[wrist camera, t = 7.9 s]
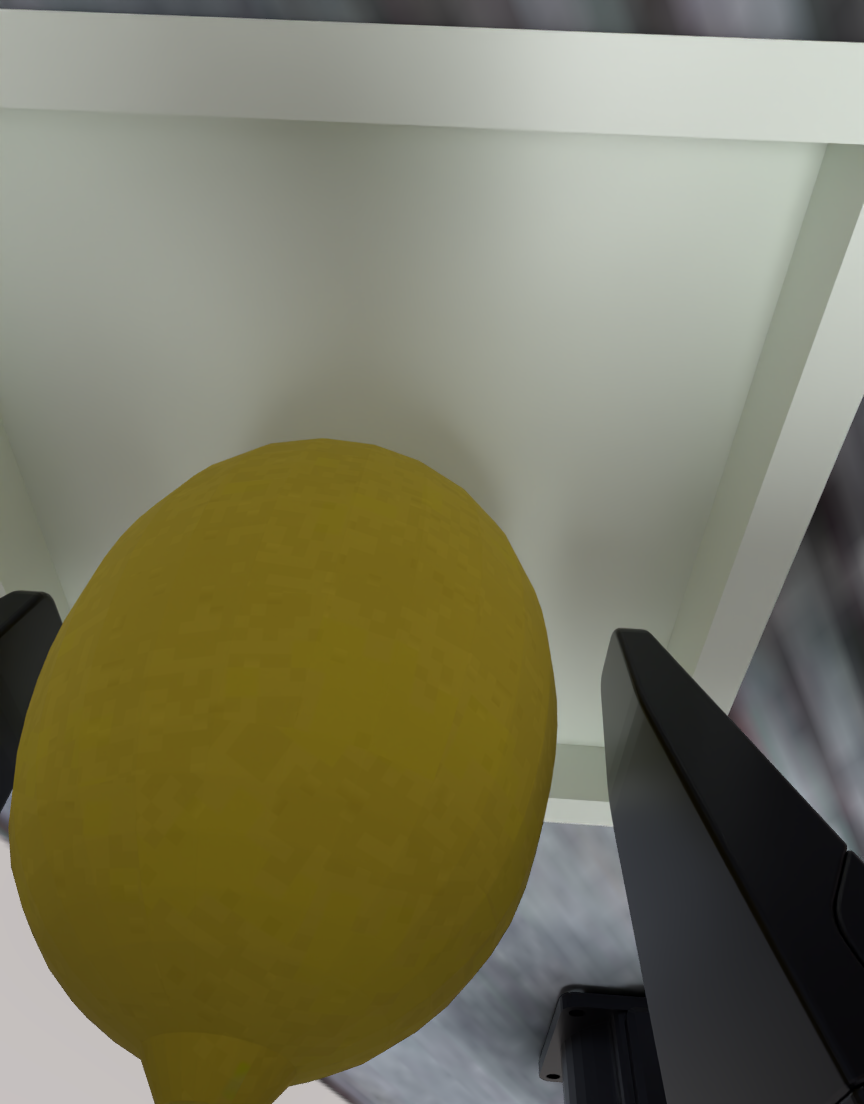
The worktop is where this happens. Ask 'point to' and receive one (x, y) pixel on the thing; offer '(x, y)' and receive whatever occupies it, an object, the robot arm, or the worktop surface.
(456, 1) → the worktop surface
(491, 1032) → the worktop surface
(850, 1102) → the robot arm
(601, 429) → the tray
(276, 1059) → the lemon
